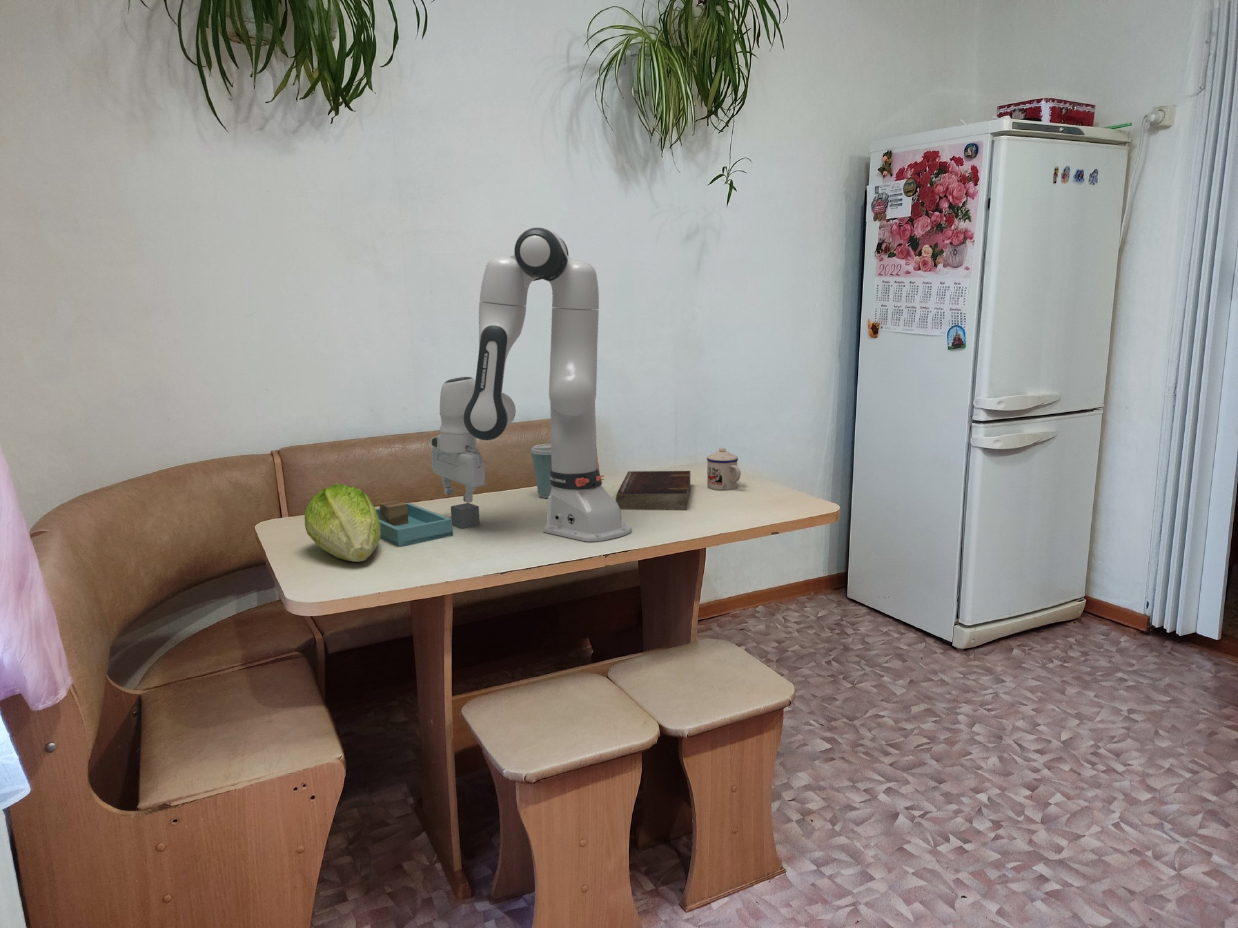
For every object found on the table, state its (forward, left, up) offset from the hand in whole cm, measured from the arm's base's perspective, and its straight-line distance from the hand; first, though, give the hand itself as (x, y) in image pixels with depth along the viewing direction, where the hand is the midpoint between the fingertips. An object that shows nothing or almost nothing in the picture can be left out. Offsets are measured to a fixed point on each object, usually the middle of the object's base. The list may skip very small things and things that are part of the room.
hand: (458, 498), depth 216 cm
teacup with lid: (-17, -78, -7) cm, 80 cm away
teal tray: (+4, +13, -7) cm, 15 cm away
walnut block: (+9, +13, -6) cm, 17 cm away
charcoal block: (-1, -1, -7) cm, 7 cm away
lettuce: (-4, +31, -7) cm, 32 cm away
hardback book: (-11, -56, -8) cm, 57 cm away
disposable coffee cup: (+10, -35, -7) cm, 37 cm away
